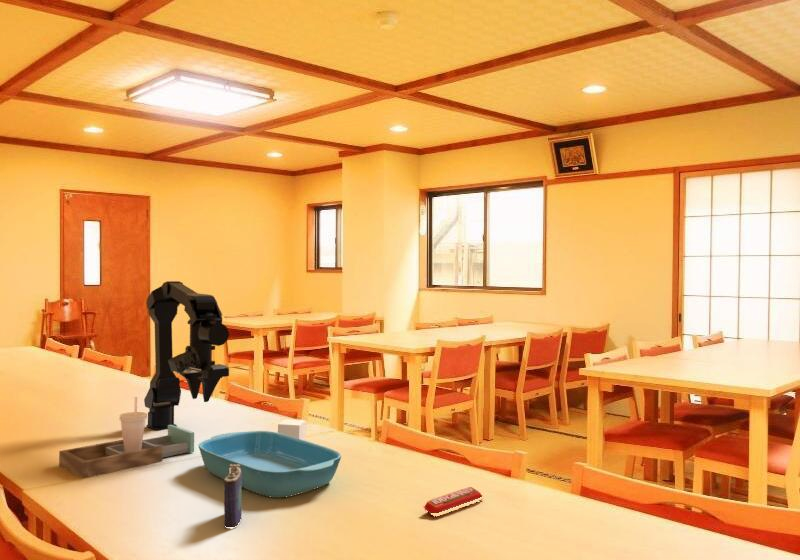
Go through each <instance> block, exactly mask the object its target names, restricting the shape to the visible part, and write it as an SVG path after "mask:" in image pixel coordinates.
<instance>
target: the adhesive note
mask: <svg viewBox="0 0 800 560" xmlns="http://www.w3.org/2000/svg"><path fill="white" fill-rule="evenodd" d="M306 425H307V420H305V419H289V418H288V419H287V418H286V419H283V420H282V421H281V422H279V423H278V424H277V433H281V434H284V435H288V436H291V437H295V438H298V439H301V440H305V441H307V440H306V438H307V437H306V435H307V426H306Z"/></svg>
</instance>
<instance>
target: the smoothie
mask: <svg viewBox="0 0 800 560" xmlns="http://www.w3.org/2000/svg"><path fill="white" fill-rule="evenodd" d="M146 419H148V413H146V412H143V411H138V397H137V396H134V411H133V412H131V411H130V412H123V413H121V414H120V415H119V421H120V425H121V433H122V434H121V435H122V439H123V443H124V451H125V453H127V452H132V451H137V450H141V448H142V441H143V440H144V439H143V438H144V434H145V433H144V432H145V425H146Z"/></svg>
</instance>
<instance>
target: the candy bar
mask: <svg viewBox="0 0 800 560" xmlns="http://www.w3.org/2000/svg"><path fill="white" fill-rule="evenodd" d="M482 496H483V494H482V493H481V492H480V491H478V490H477V489H475V488H474V487H472V486H469V487H468V486H467V487H465V488H463V489H459V490H456V491H453V492H450V493H447V494H444V495H441V496H438V497H434V498H433V499H430V500H428V501H426V503H425V504H424V506H422V507H423V508H424V511H426V510H427V511H428V512H429V513H439V512H442V511H445V510H448V509H450V508H453V507H456V506H459V505H461V504H464V503H467V502H470V501H473V500H475V499H478V498H480V497H482ZM428 512H427V513H428ZM429 513H428V514H429Z"/></svg>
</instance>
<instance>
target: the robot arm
mask: <svg viewBox="0 0 800 560" xmlns="http://www.w3.org/2000/svg"><path fill="white" fill-rule="evenodd" d="M145 304H146V307H147V312H148V313H147V314H148V316H149V317H150V319H151V320H152V321H153V323H154V352H155V353H154V355H155V357H154V358H155V359H154V360H155V373H154V375H153V376H152V378H151V380H150V381H149V389H148V391H147V393H146V395H145V397H144V400H143V402H144V407H145V408H147V409H148V412H147V424H145V425H146V427H148V428H150V429H153V430H155V431H159V430H165V429H168V425H174V426H177V427H178V425H177V424H175V406H176V407H177V406H179V404H180V401H181V394H182V388H181V386H180V383H181V381H180V380H181V379H180V377H177V376H176V374H179V375H180V376H182V377H183V378H184V379H185V380H186V382H187V385H188V388H189V392H190V396H191V398H192V399H193V400H195V399H197V398H198V396H199V392H200V388H201V387H202V388H201V389H202V398H203V403H208V402H210V399H211V397H212V394H213V393H214V391H215V388H216V387H217V386H218V384H219V381H220V380H221V379H222V378H223V377H230V368H229V367H228V366H227V365H224V364H221V363H220V364H219V363H218V364H217V363H216V360H213V351H215V350H216V346H217V347H221V346H223V345H224V344H226V343H227V341H228V340H229V337H230V332H229V328H228V326H226V325H225V324H223V317H222V316H223V313H222V311H221V309H220V307H219V305H218V301H217V300H216V298H215V296H214V295H211V294H208V293H206V294H205V293H199V292H196V291H195V290H193V289H192V288H190V287H188V286H187V285H184V283H183V282H181V281H177V280H175V281H174V280H173V281H172V280H170V281H165V282H163V283H162V284H161V286H159V287H157V288H155V289H154V290H152V291H151V292H150V293H149V295H148V296H147V299H146V303H145ZM180 305H182V306H184V309H183V311H184V312H185V313H186V314H187V316H188V317H189V319H188V321H187V325H189V345H186V347H185V351H184V352H183V353H179V354H177V355H176V356H174V357H173V322H174V320H175V318H176V317H177V314H178V307H179V306H180Z"/></svg>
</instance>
